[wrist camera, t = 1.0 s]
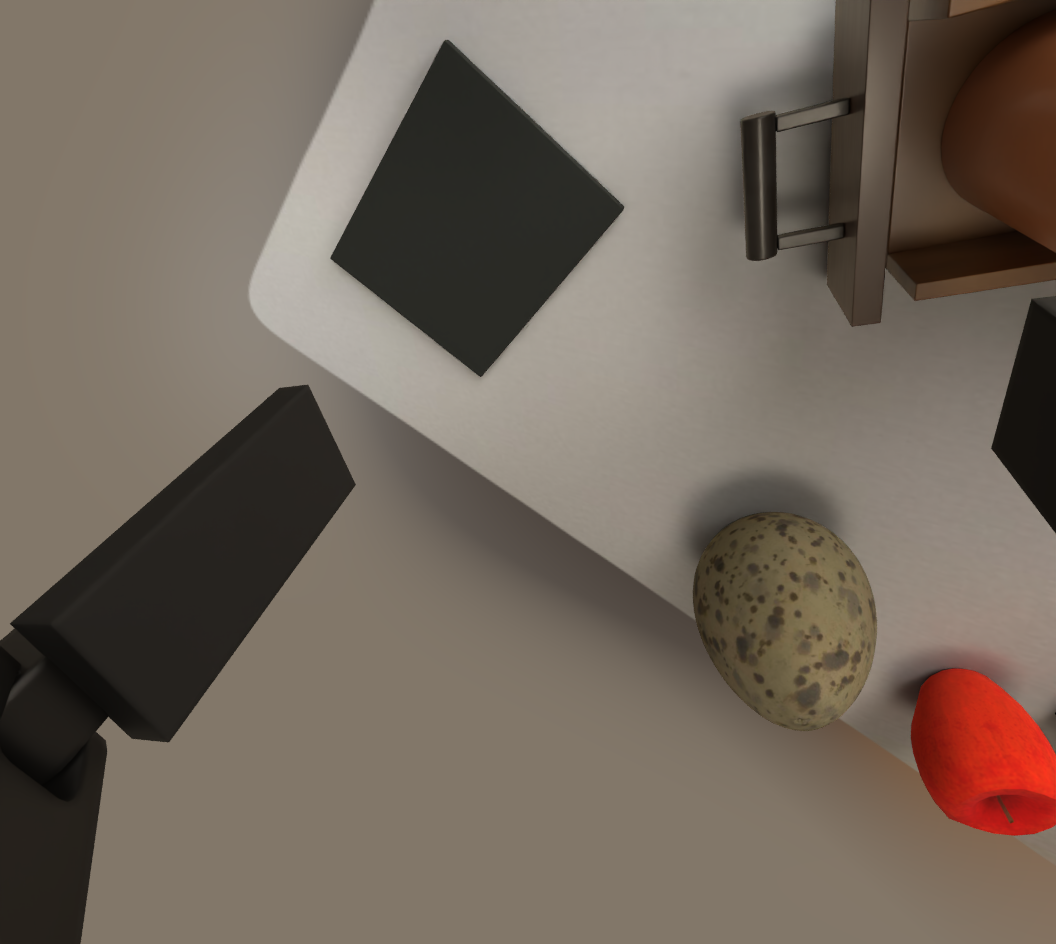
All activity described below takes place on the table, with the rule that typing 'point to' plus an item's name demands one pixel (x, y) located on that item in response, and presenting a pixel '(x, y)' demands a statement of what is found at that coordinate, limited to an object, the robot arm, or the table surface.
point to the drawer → (896, 158)
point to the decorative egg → (786, 618)
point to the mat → (471, 215)
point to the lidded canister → (1009, 133)
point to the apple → (983, 755)
